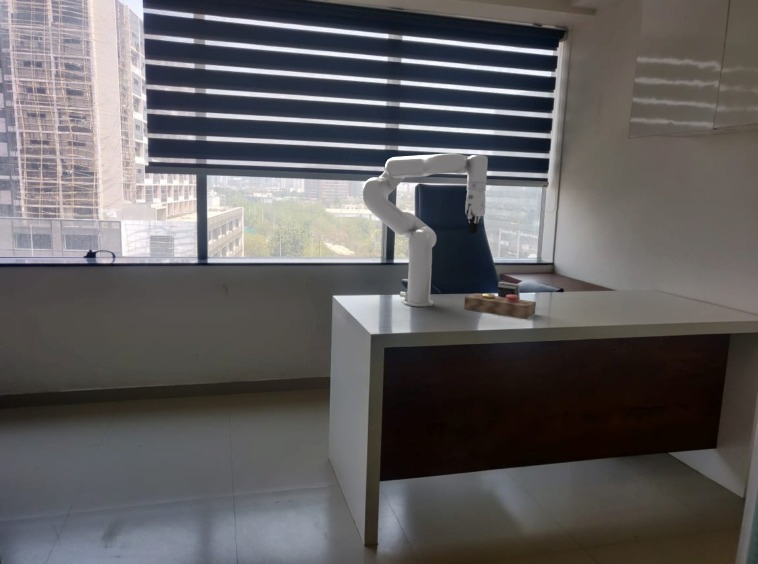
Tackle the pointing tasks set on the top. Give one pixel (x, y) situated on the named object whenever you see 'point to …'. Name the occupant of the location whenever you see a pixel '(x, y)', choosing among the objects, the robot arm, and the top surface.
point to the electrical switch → (508, 289)
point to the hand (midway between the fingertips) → (473, 233)
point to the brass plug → (488, 296)
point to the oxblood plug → (512, 298)
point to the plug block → (500, 306)
